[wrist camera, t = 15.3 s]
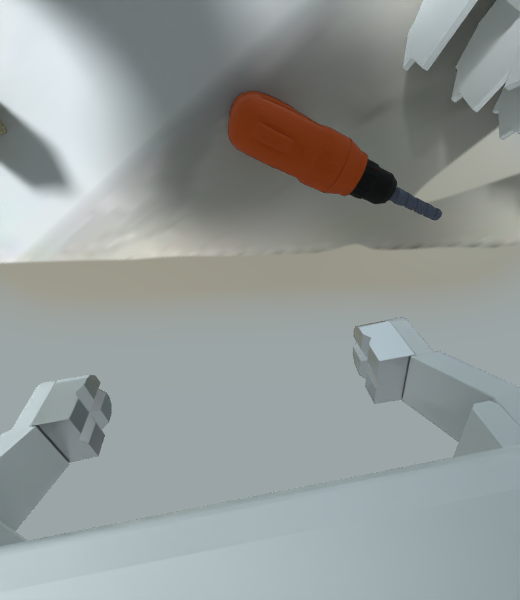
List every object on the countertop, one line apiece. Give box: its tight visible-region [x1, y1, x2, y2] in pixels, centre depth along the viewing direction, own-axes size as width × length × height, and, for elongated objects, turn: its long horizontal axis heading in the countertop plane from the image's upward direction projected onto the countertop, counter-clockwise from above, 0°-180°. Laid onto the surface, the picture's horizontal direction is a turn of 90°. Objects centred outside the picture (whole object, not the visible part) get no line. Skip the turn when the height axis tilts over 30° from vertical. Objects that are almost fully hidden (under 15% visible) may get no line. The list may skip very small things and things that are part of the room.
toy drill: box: [228, 91, 442, 220], centre depth 28 cm, size 5×19×15 cm, turn 67°
